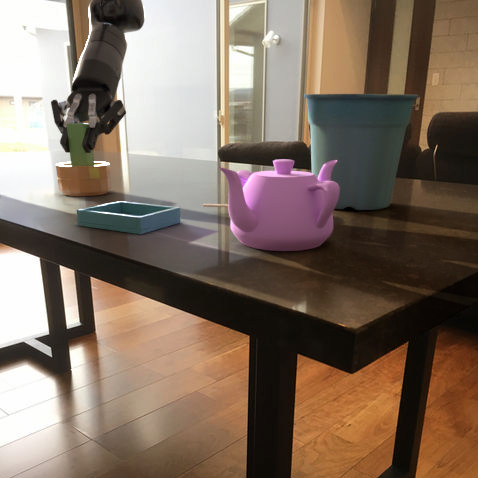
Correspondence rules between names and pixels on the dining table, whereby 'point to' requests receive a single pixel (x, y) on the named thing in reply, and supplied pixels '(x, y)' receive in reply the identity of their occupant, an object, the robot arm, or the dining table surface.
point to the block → (78, 145)
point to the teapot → (282, 206)
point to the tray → (128, 217)
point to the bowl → (84, 179)
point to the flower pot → (359, 143)
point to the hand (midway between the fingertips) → (76, 149)
